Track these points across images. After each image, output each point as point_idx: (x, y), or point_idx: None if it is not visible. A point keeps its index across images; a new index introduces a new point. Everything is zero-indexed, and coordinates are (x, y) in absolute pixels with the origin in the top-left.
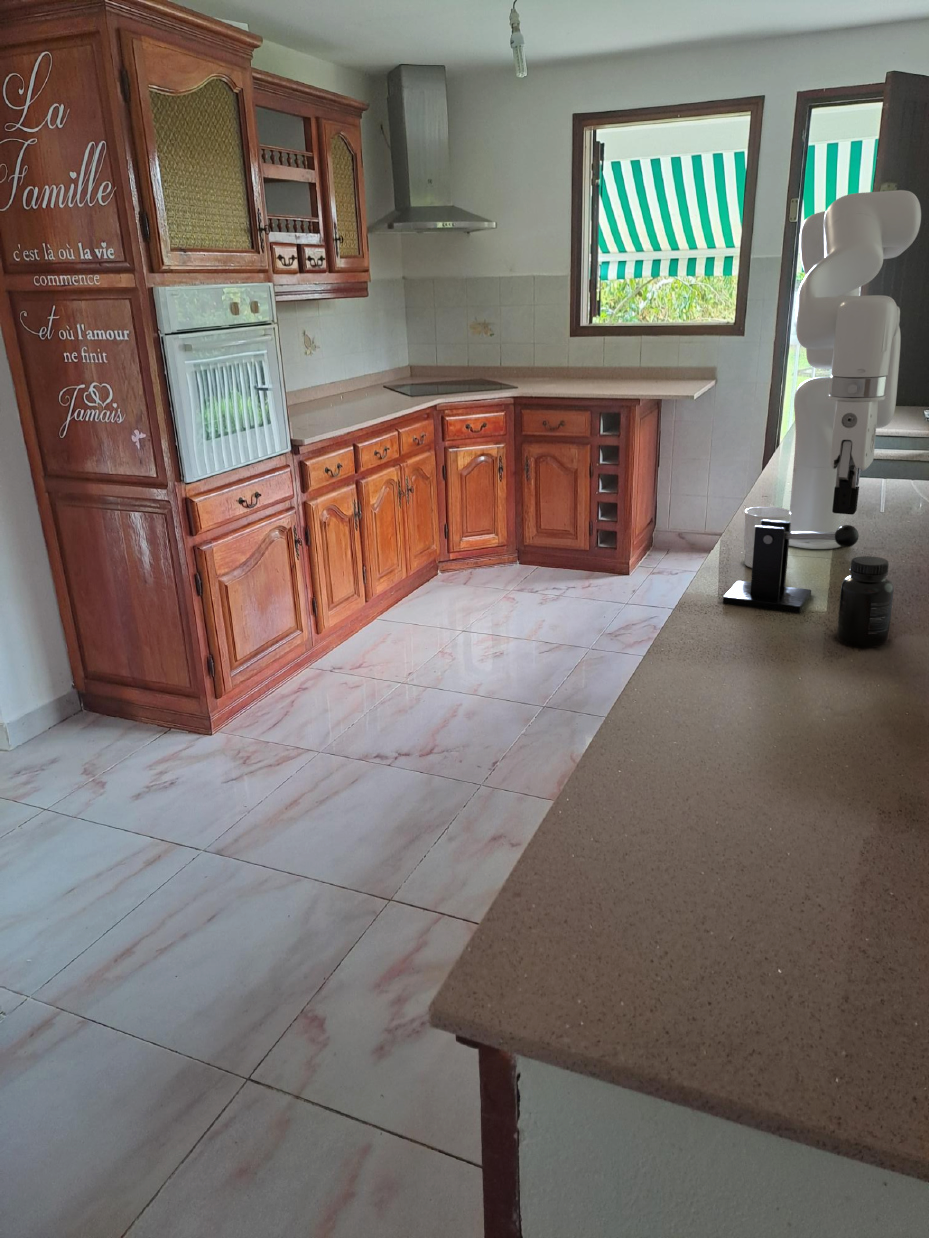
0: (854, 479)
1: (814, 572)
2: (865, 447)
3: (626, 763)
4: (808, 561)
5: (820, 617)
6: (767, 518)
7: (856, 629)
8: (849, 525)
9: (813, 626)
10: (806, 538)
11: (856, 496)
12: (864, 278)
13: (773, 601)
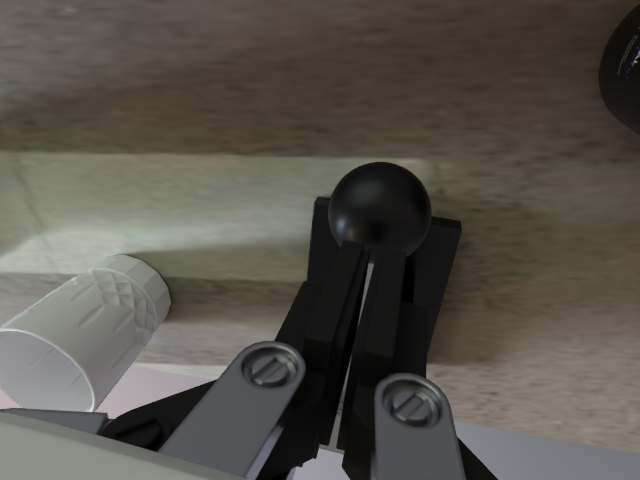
0: (461, 477)
1: (133, 188)
2: None
3: None
4: (62, 201)
5: (478, 172)
6: (94, 380)
7: None
8: (371, 228)
9: (556, 188)
10: None
11: (397, 315)
12: None
13: (432, 285)
